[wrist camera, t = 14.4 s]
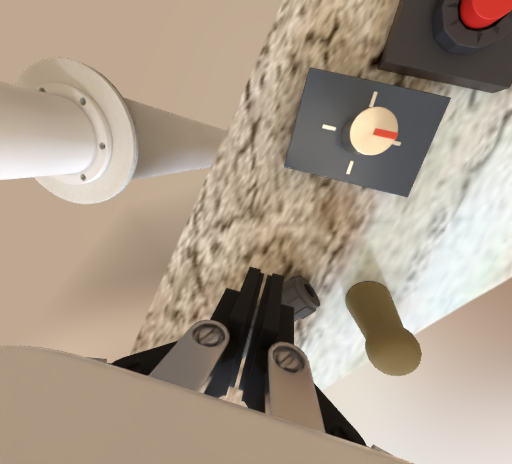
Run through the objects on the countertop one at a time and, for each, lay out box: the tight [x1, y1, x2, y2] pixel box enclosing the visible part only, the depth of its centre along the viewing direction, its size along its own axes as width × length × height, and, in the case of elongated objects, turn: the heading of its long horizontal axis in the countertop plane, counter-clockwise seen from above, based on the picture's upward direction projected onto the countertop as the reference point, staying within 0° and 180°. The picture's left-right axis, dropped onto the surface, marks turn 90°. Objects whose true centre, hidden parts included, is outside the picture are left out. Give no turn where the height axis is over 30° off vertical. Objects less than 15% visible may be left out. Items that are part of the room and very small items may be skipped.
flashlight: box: [242, 276, 320, 358], centre depth 35 cm, size 15×5×5 cm, turn 132°
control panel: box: [284, 68, 451, 197], centre depth 28 cm, size 14×10×3 cm
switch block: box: [378, 0, 512, 93], centre depth 23 cm, size 12×10×4 cm
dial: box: [341, 107, 398, 155], centre depth 24 cm, size 4×4×5 cm
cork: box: [346, 281, 422, 376], centre depth 30 cm, size 6×6×11 cm
